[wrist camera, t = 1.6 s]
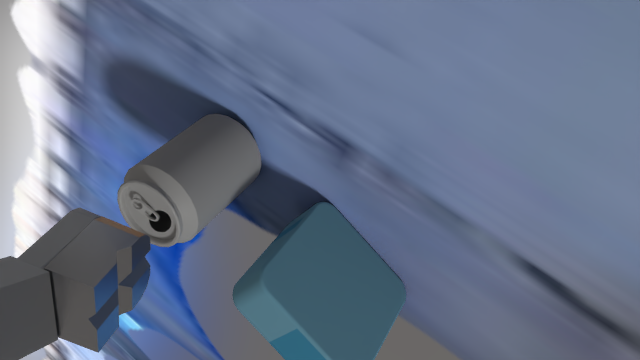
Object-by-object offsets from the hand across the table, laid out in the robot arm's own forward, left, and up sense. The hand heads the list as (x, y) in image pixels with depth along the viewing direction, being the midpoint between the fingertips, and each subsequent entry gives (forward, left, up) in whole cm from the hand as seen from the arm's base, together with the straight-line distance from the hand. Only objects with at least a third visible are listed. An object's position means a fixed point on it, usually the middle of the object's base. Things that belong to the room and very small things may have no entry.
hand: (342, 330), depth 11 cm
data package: (+22, -22, -32) cm, 44 cm away
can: (+10, -31, -32) cm, 46 cm away
